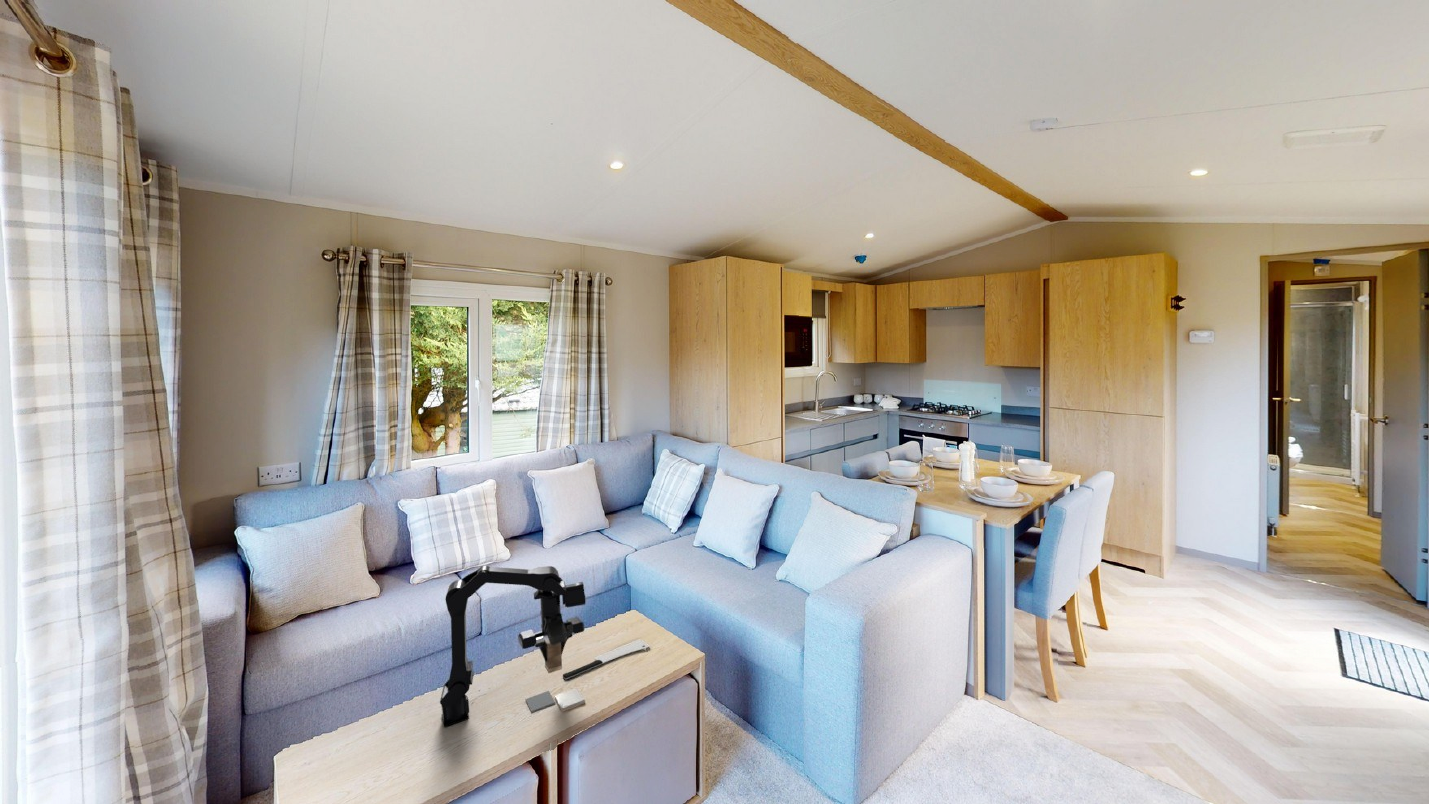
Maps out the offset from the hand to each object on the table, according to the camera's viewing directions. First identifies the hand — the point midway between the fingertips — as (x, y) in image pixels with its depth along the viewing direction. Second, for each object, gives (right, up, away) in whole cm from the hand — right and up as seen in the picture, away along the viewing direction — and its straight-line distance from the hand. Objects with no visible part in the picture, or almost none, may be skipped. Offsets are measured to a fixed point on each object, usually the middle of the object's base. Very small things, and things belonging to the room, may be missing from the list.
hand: (552, 658), depth 166 cm
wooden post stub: (0, -3, 0) cm, 3 cm away
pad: (-3, -12, -3) cm, 13 cm away
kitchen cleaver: (+12, -10, +20) cm, 25 cm away
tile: (+4, -11, 0) cm, 12 cm away
